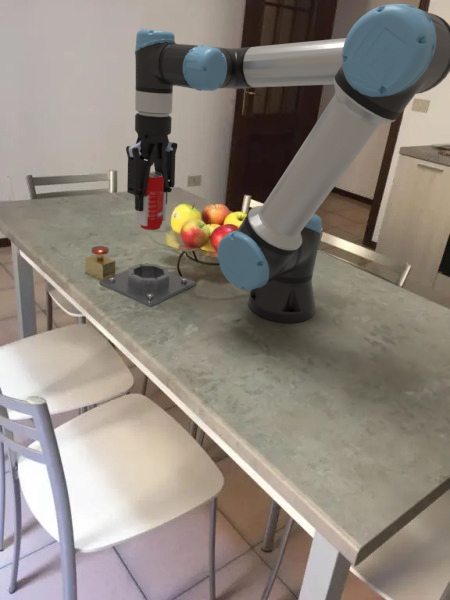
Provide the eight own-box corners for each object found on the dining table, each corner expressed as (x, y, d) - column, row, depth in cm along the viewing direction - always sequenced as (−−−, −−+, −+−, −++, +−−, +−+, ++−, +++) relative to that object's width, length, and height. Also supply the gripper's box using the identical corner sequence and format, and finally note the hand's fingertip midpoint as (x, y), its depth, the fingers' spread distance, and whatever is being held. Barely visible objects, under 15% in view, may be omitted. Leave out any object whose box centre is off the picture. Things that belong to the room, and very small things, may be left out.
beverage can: (150, 232, 115) (151, 178, 110) (134, 226, 117) (134, 173, 112) (166, 227, 119) (168, 175, 113) (150, 221, 121) (152, 170, 116)
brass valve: (115, 275, 126) (115, 250, 123) (102, 280, 123) (102, 254, 120) (98, 268, 129) (97, 243, 126) (85, 273, 126) (84, 247, 123)
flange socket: (195, 285, 126) (196, 272, 124) (150, 306, 114) (151, 293, 112) (146, 265, 133) (146, 253, 132) (99, 283, 121) (99, 270, 120)
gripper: (169, 109, 116) (165, 210, 126) (107, 112, 102) (109, 225, 112) (195, 114, 112) (189, 218, 122) (135, 118, 99) (134, 234, 109)
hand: (151, 221), depth 117 cm, fingers closed on beverage can, 5 cm apart
